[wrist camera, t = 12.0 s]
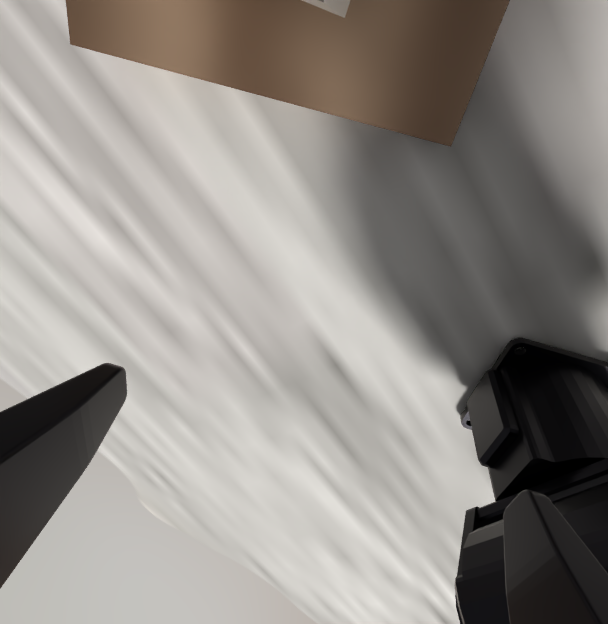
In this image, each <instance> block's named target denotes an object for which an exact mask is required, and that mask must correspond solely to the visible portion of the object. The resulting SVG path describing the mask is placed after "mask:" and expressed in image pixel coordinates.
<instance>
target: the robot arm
mask: <svg viewBox="0 0 608 624" xmlns="http://www.w3.org/2000/svg"><path fill="white" fill-rule="evenodd" d="M518 347H523V348H522V349H521V350H515V349H516V348H518ZM126 396H127V384H126V371H125V369H124V368H123V367H121V366H117V365H114V364H111V363H105V364H102V365H100V366H97V367H95V368H93V369H91V370H89V371H87V372H85V373H82V374H80V375H78V376H76V377H74V378H72V379H70V380H67V381H65V382H63V383H61V384H59V385H57V386H55V387H53V388H50V389H48V390H46V391H44V392H42V393H40V394H38V395H35V396H33V397H31V398H29V399H27V400H25V401H23V402H21V403H18V404H16V405H14V406H12V407H10V408H8V409H6V410H4V411H1V412H0V588H1V587H2V585H3V584H4V583H5V581H6V580H7V578H8V577H9V576H10V574H11V573H12V571H13V570H14V569H15V567H16V566H17V564H18V563H19V562H20V560H21V559H22V558H23V556H24V555H25V553H26V552H27V551H28V549H29V548H30V546H31V545H32V544H33V542H34V540H35V539H36V538H37V536H38V535H39V534H40V532H41V531H42V529H43V528H44V527H45V525H46V524H47V523H48V521H49V520H50V518H51V517H52V516H53V514H54V512H55V511H56V510H57V509H58V507H59V505H60V504H61V503H62V501H63V500H64V499H65V497H66V496H67V494H68V493H69V492H70V490H71V489H72V487H73V486H74V484H75V483H76V482H77V481H78V479H79V478H80V476H81V475H82V473H83V472H84V471H85V469H86V468H87V466H88V465H89V463H90V462H91V460H92V458H93V457H94V455H95V453H96V451H97V450H98V448H99V446H100V444H101V443H102V441H103V439H104V437H105V436H106V434H107V432H108V430H109V428H110V427H111V425H112V423H113V421H114V420H115V418H116V416H117V414H118V413H119V411H120V409H121V407H122V406H123V404H124V402H125V399H126ZM460 418H461V423H462V425H463V427H465V428H467V429H471V430H472V432H473V436H474V441H475V446H476V451H477V456H478V460H479V462H480V464H481V465H482V466H486V467H488V470H489V474H490V479H491V483H492V488H493V492H494V497H495V501H496V502H493V503H491V504H488V505H486V506H483V507H481V508H479V507H474V508H472V509H469V510H467V511H466V515H465V522H464V530H463V537H462V544H461V551H460V559H459V566H458V573H457V577H456V580H455V591H456V595H455V597H456V608H457V612H458V616H459V620H460V624H608V363H607V362H604V361H600V360H597V359H593V358H590V357H586V356H583V355H579V354H576V353H572V352H569V351H565V350H562V349H558V348H555V347H551V346H548V345H544V344H541V343H537V342H534V341H530V340H527V339H524V338H516V339H513V340H511V341H510V342H509V343H508V345H507V346H506V348H505V349H504V351H503V352H502V354H501V355H500V357H499V358H498V360H497V361H496V363H495V364H494V366H493V368H492V369H490V370H488V371H487V372H486V373H485V375H484V376H483V378H482V379H481V381H480V382H479V384H478V385H477V387H476V388H475V390H474V391H473V393H472V394H471V396H470V398H469V399H468V401H467V407H466V409H465V410H464V412H463V413H462V415H461V417H460ZM468 420H470V421H468Z"/></svg>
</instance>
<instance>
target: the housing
mask: <svg viewBox="0 0 608 624" xmlns="http://www.w3.org/2000/svg"><path fill="white" fill-rule="evenodd" d="M302 1H305V2H307V3H309V4H312V5H314V6H317V7H319V8H322V9H324V10H326V11H329V12H331V13H334V14H336V15H339V16H341V17H343V18H345V16H346V13H347V10H348V6H349V3H350V0H302Z"/></svg>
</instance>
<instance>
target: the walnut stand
mask: <svg viewBox="0 0 608 624" xmlns="http://www.w3.org/2000/svg"><path fill="white" fill-rule="evenodd" d="M509 1H510V0H350V3H349V6H348V10H347V13H346V16H345V18H343V17H341V16H339V15H336V14H334V13H331V12H329V11H326V10H324V9H322V8H319V7H317V6H314V5H312V4H309V3H307V2H305V1H302V0H66V6H67V16H68V26H69V35H70V44H71V45H75V46H79V47H82V48H86V49H90V50H94V51H97V52H101V53H105V54H108V55H112V56H116V57H120V58H123V59H127V60H131V61H134V62H138V63H142V64H146V65H149V66H153V67H157V68H161V69H164V70H168V71H172V72H175V73H179V74H183V75H187V76H190V77H194V78H198V79H201V80H205V81H209V82H213V83H216V84H220V85H224V86H228V87H231V88H235V89H239V90H242V91H246V92H250V93H254V94H257V95H261V96H265V97H268V98H272V99H276V100H280V101H283V102H287V103H291V104H294V105H298V106H302V107H306V108H309V109H313V110H317V111H321V112H324V113H328V114H332V115H335V116H339V117H343V118H347V119H350V120H354V121H358V122H361V123H365V124H369V125H373V126H376V127H380V128H384V129H388V130H391V131H395V132H399V133H402V134H406V135H410V136H414V137H417V138H421V139H425V140H428V141H432V142H436V143H440V144H443V145H447V146H451V145H452V143H453V140H454V138H455V135H456V133H457V130H458V128H459V125H460V123H461V120H462V118H463V115H464V113H465V110H466V108H467V105H468V103H469V100H470V98H471V95H472V93H473V90H474V88H475V85H476V83H477V81H478V78H479V76H480V73H481V71H482V68H483V66H484V63H485V61H486V58H487V56H488V53H489V51H490V48H491V46H492V43H493V41H494V38H495V36H496V33H497V31H498V28H499V26H500V23H501V21H502V18H503V16H504V13H505V11H506V8H507V6H508V4H509Z"/></svg>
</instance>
